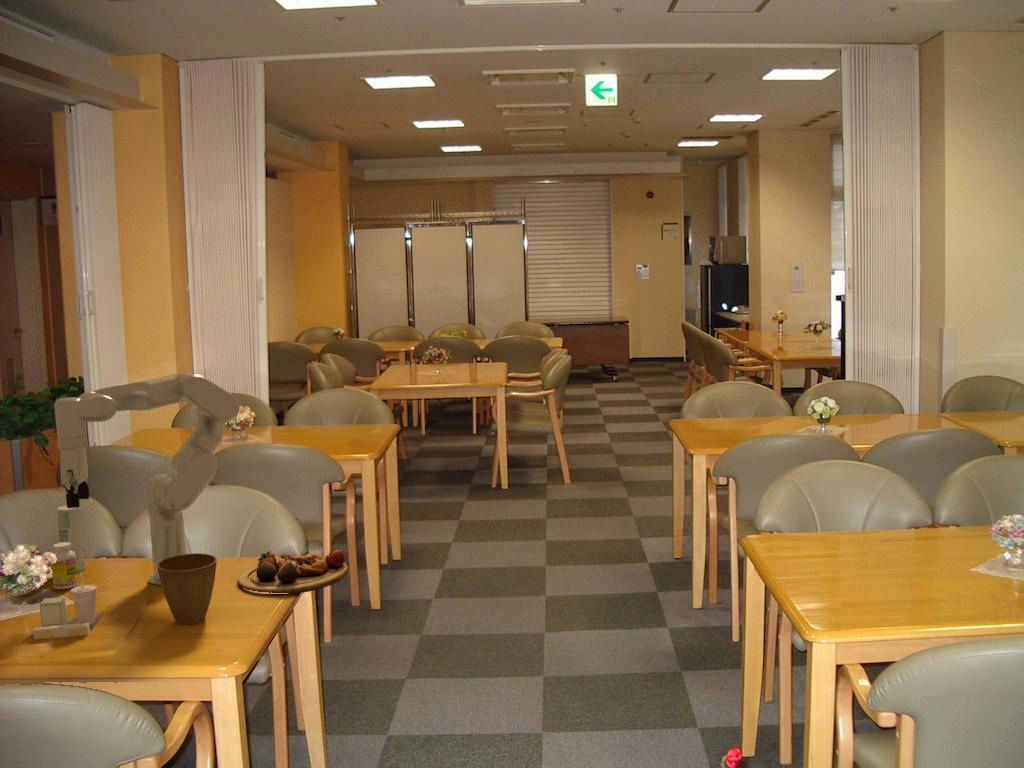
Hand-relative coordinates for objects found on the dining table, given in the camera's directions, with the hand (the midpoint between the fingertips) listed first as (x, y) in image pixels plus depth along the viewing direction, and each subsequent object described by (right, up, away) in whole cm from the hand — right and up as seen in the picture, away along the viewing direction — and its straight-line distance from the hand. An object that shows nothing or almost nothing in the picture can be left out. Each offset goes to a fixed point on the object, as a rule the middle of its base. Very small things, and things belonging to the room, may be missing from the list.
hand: (78, 503), depth 281 cm
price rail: (+6, -32, -24) cm, 41 cm away
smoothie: (+10, -30, -17) cm, 36 cm away
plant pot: (+36, -30, -13) cm, 48 cm away
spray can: (-15, -25, +33) cm, 44 cm away
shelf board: (+5, -31, -18) cm, 36 cm away
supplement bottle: (-11, -27, +17) cm, 34 cm away
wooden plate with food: (+56, -25, +19) cm, 64 cm away
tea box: (+1, -30, -18) cm, 35 cm away
